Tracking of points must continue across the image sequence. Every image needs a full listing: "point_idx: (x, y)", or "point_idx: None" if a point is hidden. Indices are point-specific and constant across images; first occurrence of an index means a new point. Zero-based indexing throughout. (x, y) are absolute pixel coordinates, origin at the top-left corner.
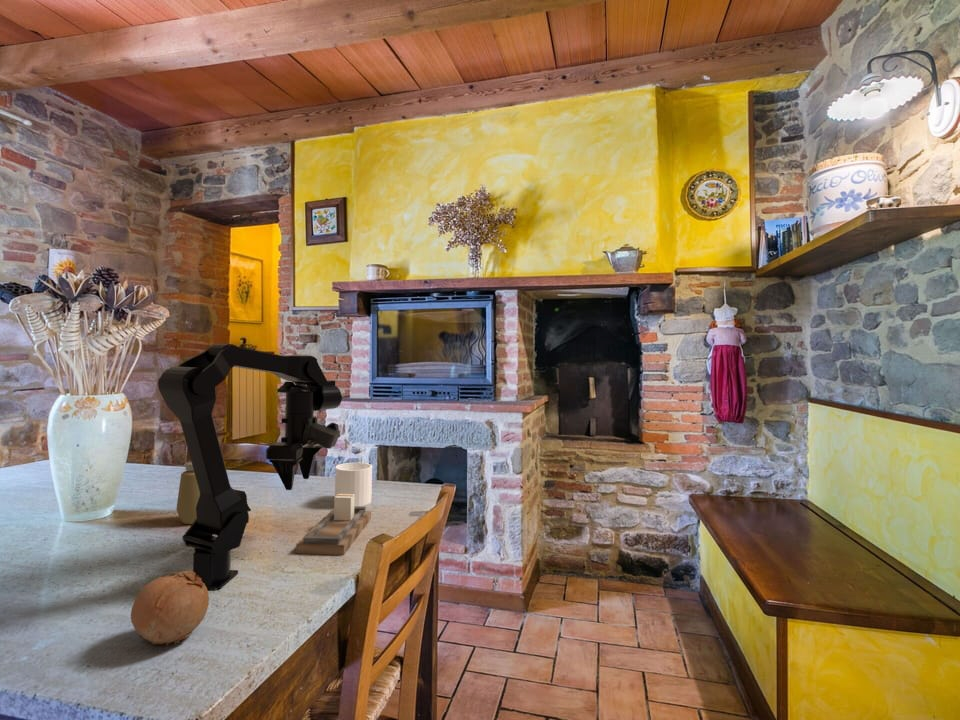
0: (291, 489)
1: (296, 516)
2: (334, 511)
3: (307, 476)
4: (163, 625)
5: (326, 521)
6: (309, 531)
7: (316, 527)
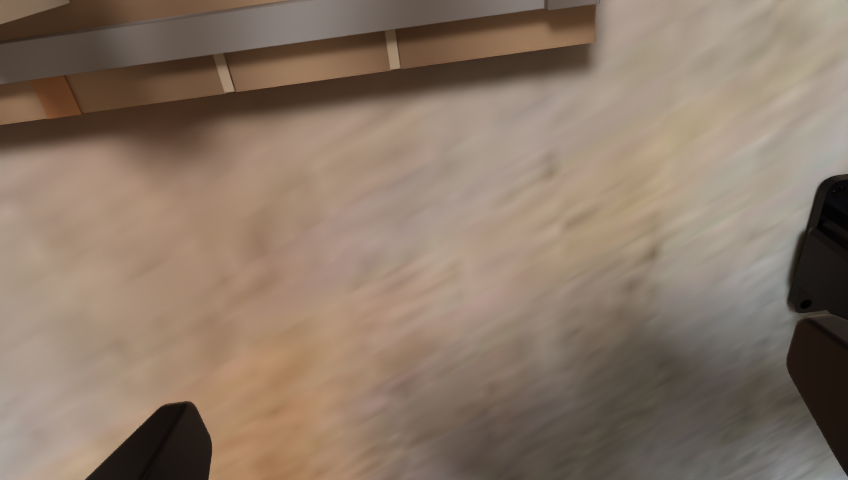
0: (812, 316)
1: (37, 333)
2: (27, 9)
3: (180, 435)
4: None
5: (182, 19)
6: (363, 73)
7: (337, 31)
